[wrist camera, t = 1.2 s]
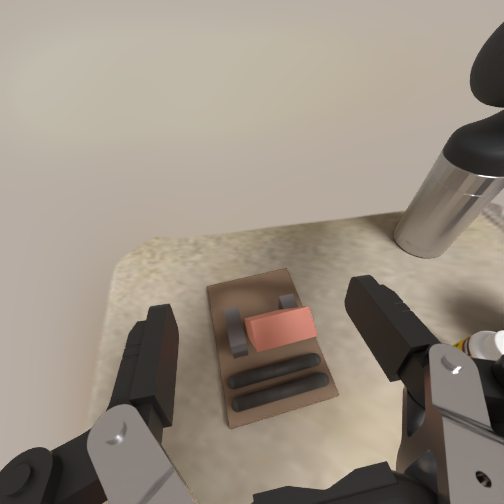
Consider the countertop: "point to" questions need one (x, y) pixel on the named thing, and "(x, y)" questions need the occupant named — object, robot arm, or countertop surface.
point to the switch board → (264, 352)
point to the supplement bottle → (483, 345)
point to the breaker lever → (280, 327)
